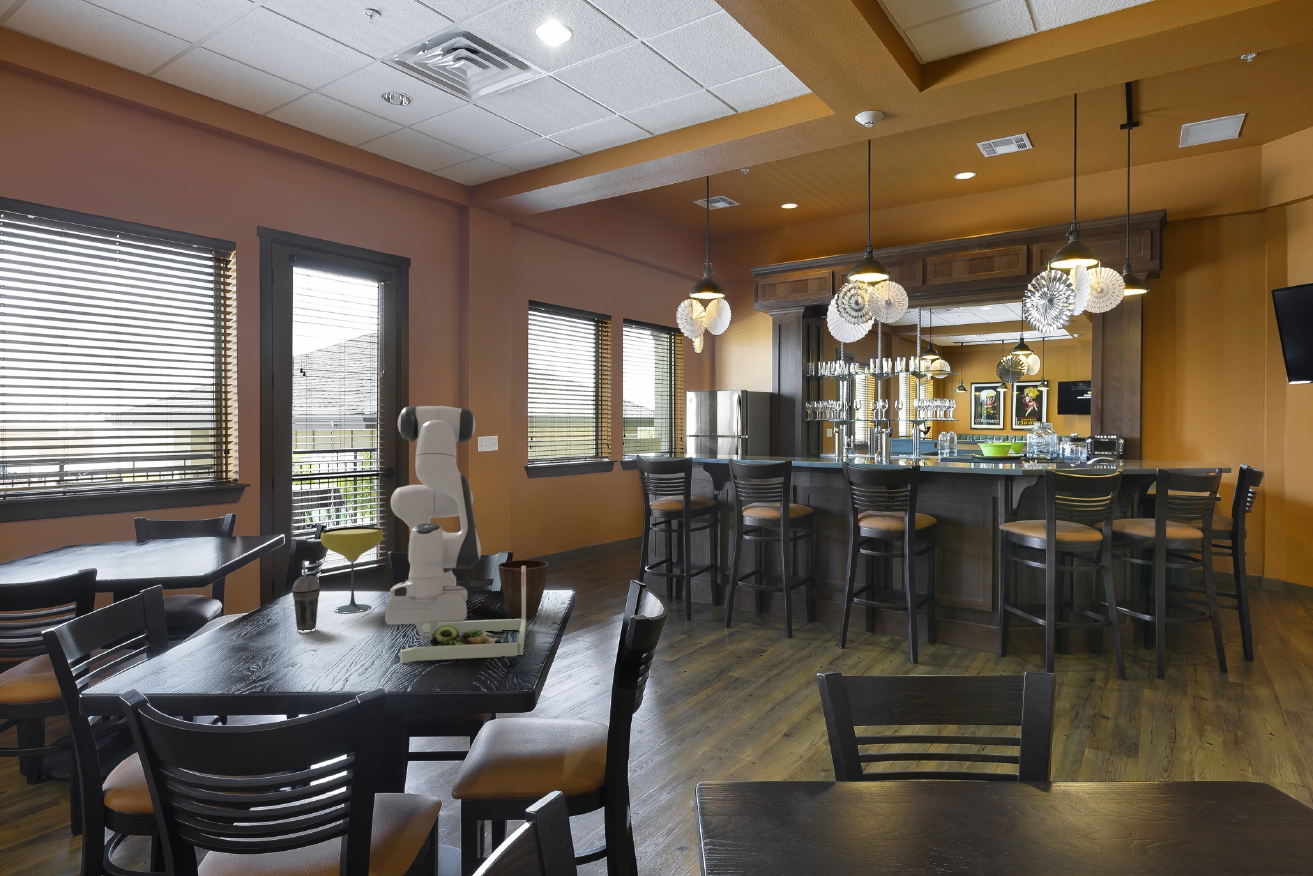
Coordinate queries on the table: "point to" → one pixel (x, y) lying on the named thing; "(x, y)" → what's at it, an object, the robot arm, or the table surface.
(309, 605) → the beverage cup
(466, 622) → the corral
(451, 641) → the avocado toast plate
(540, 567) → the plant pot
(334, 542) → the cocktail glass
